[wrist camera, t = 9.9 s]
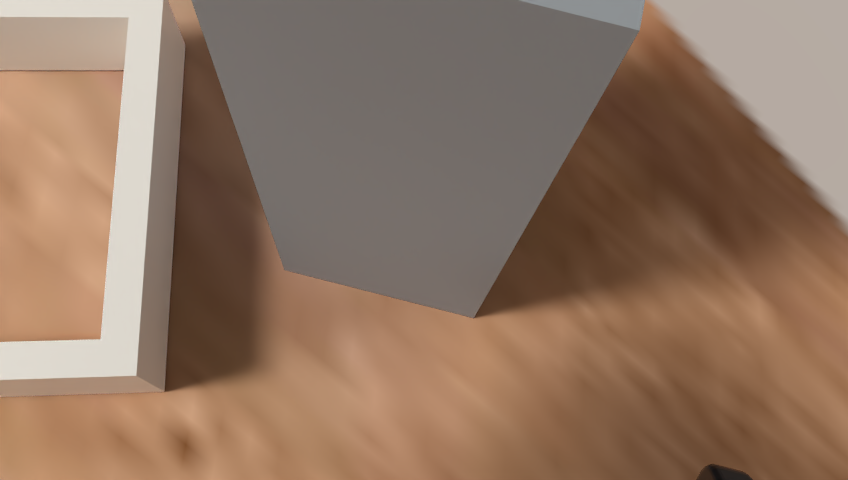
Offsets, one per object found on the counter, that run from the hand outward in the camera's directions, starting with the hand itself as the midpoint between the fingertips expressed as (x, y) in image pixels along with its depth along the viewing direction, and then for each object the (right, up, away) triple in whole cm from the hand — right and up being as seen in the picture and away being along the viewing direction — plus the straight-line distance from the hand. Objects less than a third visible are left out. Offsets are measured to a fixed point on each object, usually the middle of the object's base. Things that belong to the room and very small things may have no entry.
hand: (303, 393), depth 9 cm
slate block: (+1, +3, +12) cm, 13 cm away
